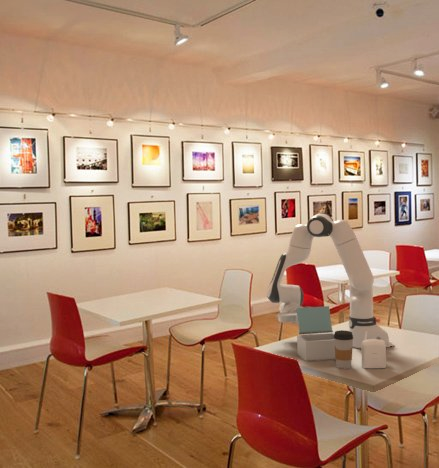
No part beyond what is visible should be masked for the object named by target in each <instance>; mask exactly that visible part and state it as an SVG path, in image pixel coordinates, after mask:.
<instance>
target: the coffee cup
mask: <svg viewBox="0 0 439 468" xmlns="http://www.w3.org/2000/svg"><path fill="white" fill-rule="evenodd" d="M334 333H335V334H334V343H335V345H334V346H335V365H336V368H339V369H345V370H348V369H350V368H351V367H352V361H353V348H354V347H353V346H352V344H353V335H352V332H350V331H349V330H336V331H334Z"/></svg>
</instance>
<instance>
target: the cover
mask: <svg viewBox="0 0 439 468" xmlns="http://www.w3.org/2000/svg"><path fill="white" fill-rule="evenodd" d="M306 307H307V308H296V309H297V317H298V323H297V324H298V325H297V326H298V335H307V334H322V333H334V331H333V326H332V319H331V310H330V306H329V305H328V306H327V305H326V306H306Z"/></svg>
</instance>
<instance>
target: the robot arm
mask: <svg viewBox="0 0 439 468" xmlns="http://www.w3.org/2000/svg"><path fill="white" fill-rule="evenodd" d="M315 237H316V238H323V237H330V239H331V240H332V242H333V244H334V247H335V249H336V250H337V251H336V252H337V254H338V256H339V258H340V260H341V263H342V265H343V268H344V270H345V273H346V275H347V277H348V280H349V317H348V327H349V330H348V331H350V332H352V335H353V344H352V346H353V348H356V349H361V345H362V341H364V340H368V339H380V340H383V341H384V342H385V345H386V348H391V347H390V346H392V347H394V346H395V343H394V342H393V341H391V340H390V337H389V334H388V332H387V331H386V330H385V328H382V327H381V326H380V325H379V324H377V323H380V322H381V318H379V317H375V316H374V298H373V294H374V293H373V286H374V281H375V280H374V279H375V278H374V276H373V272H372V270H371V268H370V266H369V264H368V261H367V259H366V257H365V253H364V252H363V250H362V249H363V248H362V247H361V245H360V242H359V240H358V238H357V235H356V234H355V232H354V230H353V228H352V227H351V225H350V223H349V222H348V221H347V220H345V219H338V220H333V217H332V216H331V215H329V214H328V213H325V212H322V213H321V212H320V213H317V214H314V215H312V216H311V217H310V218H309V219H308V221H307V224H306V223H305V224H304V223H300V224H299V223H298V224H296V225H295V226H294V228H293V230H292V233H291V235H290V240H289V243H288V244H289V246H288V248H287V249H286V251H285V252H284V253H282V254H281V255H280V257H279V259H278V260H277V261H278V262H277V264H276V267H275V270H274V273H273V276H272V279H271V281H270V283H269V286H268V288H267V291H266V297H267V299H268V300H269V302H271V303H273V304H279V307H278V309H279V312H278V314H276V315H275V318H277V319H278V322H280V323H291V324H298V317H297V309H296V308H307V307H308V306H302V305H303V303H304V299H305V296H304V291H303V289H302V288H301V286H300V285H297V284H296V285H295V284H285V283H282V280H283V278H284V274H285V271H286V270H287V269H289V267H292V266H294V265H295V266H296V265H298V264H302V263H303V262H305V261H307V260H308V258H309V257H310V254H311V251H312V244H313V240H314V238H315Z"/></svg>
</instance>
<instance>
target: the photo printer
mask: <svg viewBox="0 0 439 468" xmlns="http://www.w3.org/2000/svg"><path fill="white" fill-rule="evenodd" d="M386 349H387V347H386V345H385V342H384V341H383V340H380V339H368V340H364V341H362V345H361V348H360V351H361V368H362V369H386V368H387V362H386V361H387V350H386Z"/></svg>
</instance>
